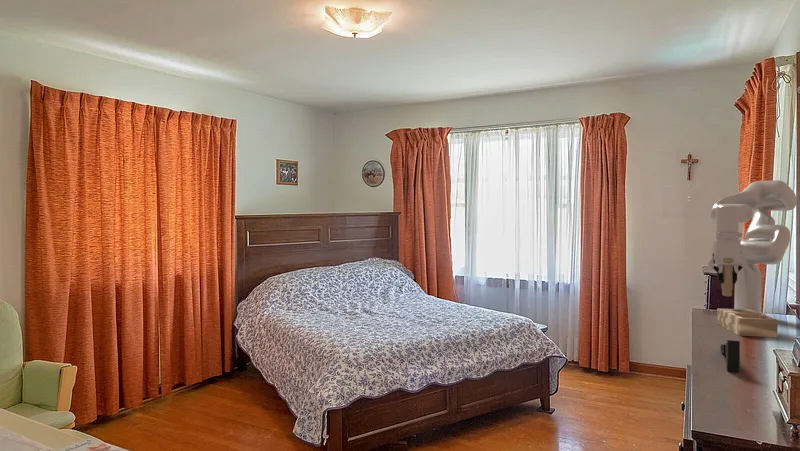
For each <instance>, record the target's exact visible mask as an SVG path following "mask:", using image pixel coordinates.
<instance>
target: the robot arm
mask: <svg viewBox="0 0 800 451" xmlns="http://www.w3.org/2000/svg"><path fill="white" fill-rule="evenodd" d="M797 203H798V198H797V194H795V191H793V189H792V187H790V185H788V184H787V183H786V182H785V181H783V180H779V179H775V180H771V179H770V180H757V181H752V182H750V184H748V185H747V186H746V187H745V188H744V189H743V190H742V191H741V192H737V193H735V194H731V195H728V196H725V197H722V198H720V199H719V200H718V201H717V202H715V203H714V204H713V206H712V208H711V211H710V217H711V219H712V220H713V221H714V222H716V224H715V226H716V228H715V229H716V230H715V231H716V233H715V235H716V236H715V239H713V242H712V245H711V246H712V247H711V254H710V256H711V257H710V258H711V259H709V261H708V263H707V266H708V267H710V268H712V269H713V270H714V271H715V272H716V279H717V282H718V283H720V284H721V283H723V273H722V269H723V265H732V275H733V284H734V302H733V303H734V304H733V305H734V307H733V309H746V310H753V311H756V312H759V313H761V314H764V315H766V313H763V312H762V299H763V298H762V293H763V292H762V290H763V289H762V288H763V287H762V286H763V274H762V271H761V269H760V268H759V267H758V266H757V265H772V266H773V265H778V264H779V263H781V262H782V260H783V258H784V256H785V254H786V252H787V249H788V247H789V245H790V242H791V231H790V229H789V227H787V226H786V225H783V224H782V225H781V224H776V221H775V219H774V218H773V216H772V215H771V214H770V213H769V212H770V211H772V212H773V211H775V212H779V211H780V212H781V211H785V212H787V211H793V209H795V208H796V206H797ZM767 211H769V212H767ZM749 221H751V222H750V224H749V226H748V227H747V229H746V232H745V233H744V239H743V240H741V239H740V238H741V237H743V233H742V232H741V233H740V231H739V224H740V223H741V224H743V223H747V222H749ZM723 259H733V260H734V261H733V262H732V263H725V262H723ZM756 264H757V265H756ZM766 316H767V315H766Z"/></svg>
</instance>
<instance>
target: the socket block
mask: <svg viewBox="0 0 800 451" xmlns="http://www.w3.org/2000/svg"><path fill="white" fill-rule="evenodd" d="M761 313H762V312H761ZM761 313H759V312H756V311H753V310H746V309H734V308H717V309H716V324H717V325H718V326H720V327H722V328H724V329H726V330H728V331H730V332H731V333H734V334H736V335H738V336H743V337H744V336H747V337H748V336H749V337H764V338H765V337H769V338H777V337H778V324H779V323H778V321H779V320H778V319H777V318H774V317H771V316H769V315H764V314H765V313H764V314H761Z"/></svg>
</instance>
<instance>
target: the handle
mask: <svg viewBox="0 0 800 451" xmlns="http://www.w3.org/2000/svg"><path fill="white" fill-rule="evenodd" d="M733 261H734V260H733V259H723V262H725V263H732V262H733ZM722 273H723V283H720V285H721V294H722V296H724V297H732V296H733V286H734V283H733V275H732V265H723V269H722Z"/></svg>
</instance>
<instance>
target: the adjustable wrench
mask: <svg viewBox="0 0 800 451" xmlns="http://www.w3.org/2000/svg"><path fill="white" fill-rule="evenodd" d="M740 345H741V341H739V340H730V339H729V340H728V339H727V340H726V342H725V344H723V343H722V344H720V347H719V348H720V353H721V354H724V355H723V356H724V359H725V362H726V363H725V364H726V372H727V371H728V373H729V372H730V373H737V374H739V373H740V360H741V355H740V354H741V348H740V347H741V346H740Z"/></svg>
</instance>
